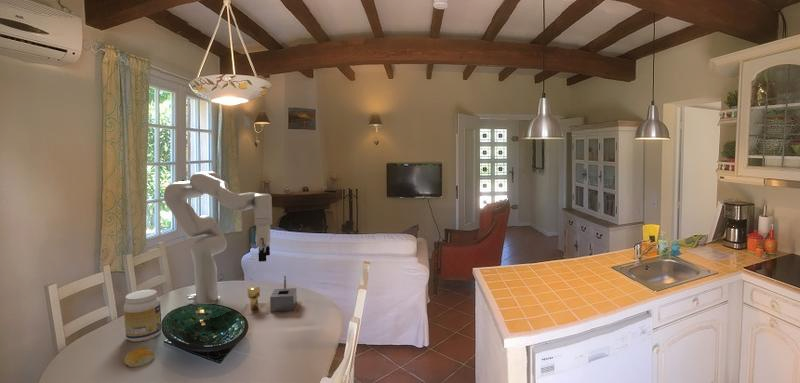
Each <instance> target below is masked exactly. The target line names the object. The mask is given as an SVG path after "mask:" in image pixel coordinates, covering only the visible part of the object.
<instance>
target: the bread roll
mask: <svg viewBox="0 0 800 383" xmlns="http://www.w3.org/2000/svg"><path fill="white" fill-rule="evenodd" d="M154 357H155V353H154V352H153V351H152V350H149V349H148V348H146V347H138V348H135V349H133V350H131V351H129V352H128V353H127V354H126V356H125V358H124V359H123V360H124V361H123V362H124V364H125V366H128V367H130V368H138V367H141V366H145V365H147V364H149V363H151V362H152V360H153V359H154Z"/></svg>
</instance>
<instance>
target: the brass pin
mask: <svg viewBox="0 0 800 383" xmlns="http://www.w3.org/2000/svg"><path fill="white" fill-rule="evenodd" d="M246 292H247V298H249V299H250V300H249V302H250V303H249V304H250V305H251V310H257V309H258V303H259V297H260V296H261V288H260V286H250V287H247V291H246Z"/></svg>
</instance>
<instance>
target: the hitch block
mask: <svg viewBox="0 0 800 383" xmlns="http://www.w3.org/2000/svg"><path fill="white" fill-rule="evenodd" d="M297 300H298V298H297V288H296V287H295V288H294V287H293V288H290V287H289V288H286V289H284V288H275V289H273V291H272V292H271V294H270V297H269V303H270V309H271V312H288V311H294V309H295V306H296V303H297Z"/></svg>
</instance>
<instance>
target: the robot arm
mask: <svg viewBox="0 0 800 383" xmlns="http://www.w3.org/2000/svg"><path fill="white" fill-rule="evenodd" d="M205 194H206V195H209V196H211V197H213V198H215V199H216V200H217V202H219V204H220V205H222V206H223V207H225V208H227V209H230V210H232V211H235V212H243V211H248V210H253V214H254V215H253V218H254V226H256V227H255V228H256V229H255V247H256V248H258V252H257V253H258V254H257V255H258V262H260V263H261V262H267V256H270V254H271V249H270V243H271V225H273V203H272V198H273V197H272V195H271V194H269V193H258V192H253V191H252V192H251V191H250V192H243V193H235V192H233V191H231V190H229V184H228V182H227V181H225V180H222V178H221V176H220V174H219V173H217V172H215V171H199V172H195V173H194V174H192V175H191V176H190V178H189V180H184V181H177V182H172V183H170V184H168V185H167V186H166V187H165V189H164V192H163V199H164V202H165V205H166V206H167V208H168V209H169V210H170V212H171V213H172V214H173V216H174V218H175V220H176V221H177V223H178V225H179V227H180V228H181V230H182V232H183V234H184V235H185V236H186V237H187V238H190V239H195V238H198V239H196V240H194V241H193V242H192V244H191V246H190V253H191V256H192V257H191V258H192V261H193V269H194V270H193V272H194V284H195V285H194V286H195V288H194V289H195V293H194V294H187V295H186V298H187V300H188V301H192V300H193V301H192V305H193V304H214V305H215V304H216V302H217V301H218V300H220V298H221V296H220V295H219V290H218V287H219V286H218V270H217V269H218V268H217V262H216V260H215V259H214V256H215V255H217V254H220V253H222V252H224V251H225V250H226V248H227V246H228V242H227V239H226V236H225V235H224V233H223V231H222V229H221V228H220V226H219V224H218V223H217V221H216V220H215V218H213V217H212V216H210V215H208V214H207V215H206V214H204V215H198V214H197V212H196V211H195V210H194V208H193V206H192V205H191V204H190V203H188V202H187V201H185V200H188V199H194V198H198V197H201V196H203V195H205ZM202 236H203V237H202ZM199 237H201V238H199Z"/></svg>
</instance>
